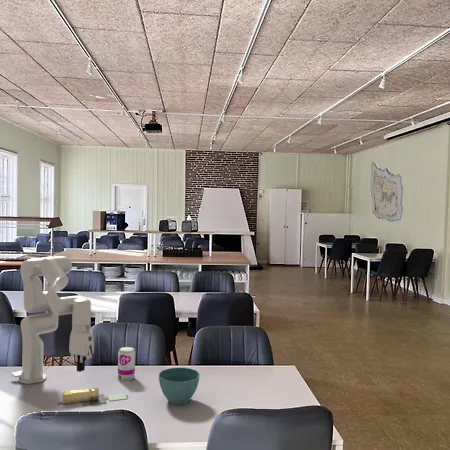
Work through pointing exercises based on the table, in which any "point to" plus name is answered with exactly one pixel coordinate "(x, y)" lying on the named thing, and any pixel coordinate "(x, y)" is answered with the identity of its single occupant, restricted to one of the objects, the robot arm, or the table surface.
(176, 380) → the teal round bowl
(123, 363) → the supplement can
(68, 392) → the bar
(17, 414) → the table surface
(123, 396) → the keeper pad
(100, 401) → the lock base plate
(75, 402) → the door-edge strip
